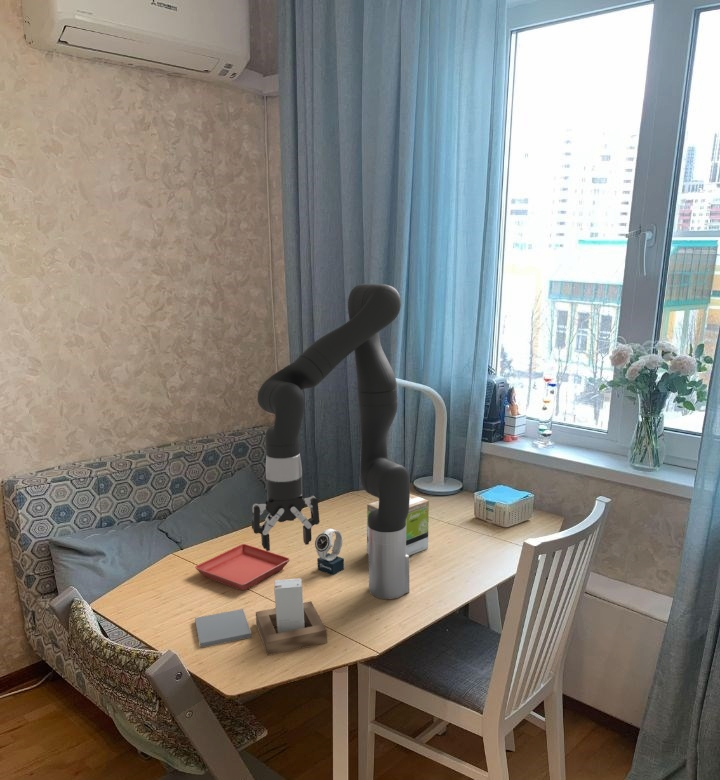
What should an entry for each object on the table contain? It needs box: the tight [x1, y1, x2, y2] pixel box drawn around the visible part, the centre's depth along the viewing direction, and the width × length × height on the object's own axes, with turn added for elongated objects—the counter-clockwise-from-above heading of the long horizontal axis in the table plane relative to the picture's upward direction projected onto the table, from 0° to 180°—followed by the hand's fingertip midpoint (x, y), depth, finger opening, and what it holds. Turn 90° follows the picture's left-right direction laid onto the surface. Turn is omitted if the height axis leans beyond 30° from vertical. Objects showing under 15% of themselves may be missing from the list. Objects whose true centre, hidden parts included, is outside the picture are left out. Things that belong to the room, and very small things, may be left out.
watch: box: [314, 528, 345, 576], centre depth 176 cm, size 6×8×11 cm
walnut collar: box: [255, 601, 328, 656], centre depth 148 cm, size 13×13×3 cm
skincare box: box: [273, 578, 306, 633], centre depth 147 cm, size 6×4×12 cm
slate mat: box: [194, 608, 252, 648], centre depth 150 cm, size 11×11×1 cm
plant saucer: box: [195, 543, 291, 591], centre depth 177 cm, size 18×18×3 cm
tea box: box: [366, 493, 430, 557], centre depth 186 cm, size 15×10×15 cm, turn 131°
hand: (286, 546), depth 144 cm, fingers open, 8 cm apart
